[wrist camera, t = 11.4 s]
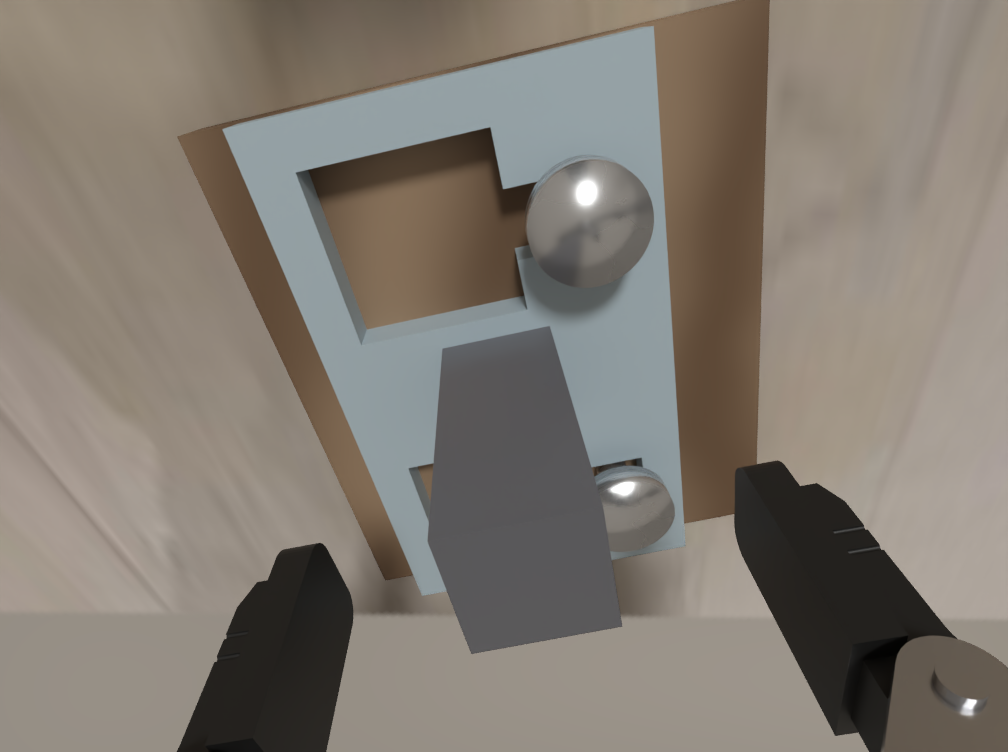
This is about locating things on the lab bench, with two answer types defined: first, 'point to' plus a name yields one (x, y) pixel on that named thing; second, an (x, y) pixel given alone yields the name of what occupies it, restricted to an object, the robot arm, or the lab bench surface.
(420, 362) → the keyhole panel
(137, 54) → the lab bench surface
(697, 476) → the walnut board
